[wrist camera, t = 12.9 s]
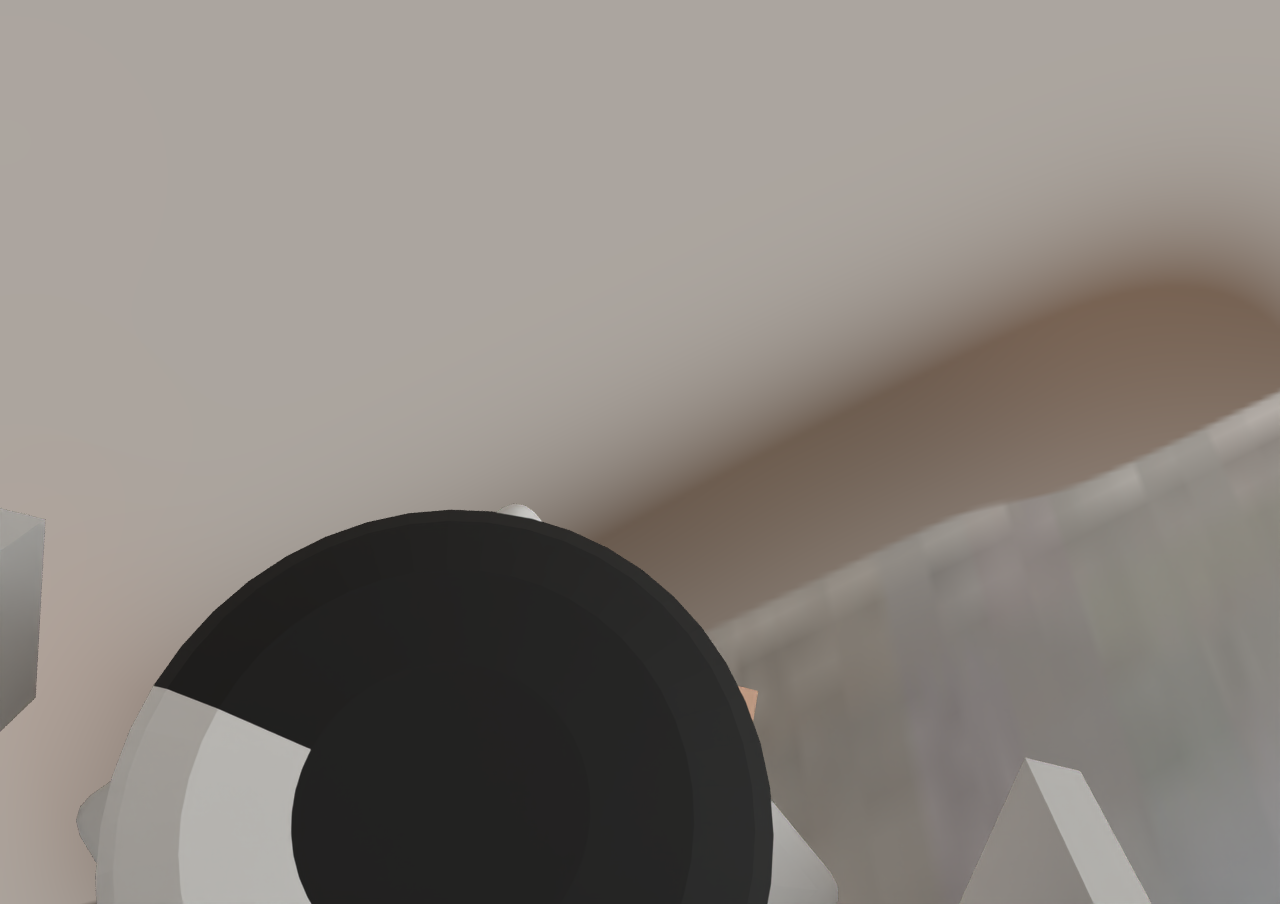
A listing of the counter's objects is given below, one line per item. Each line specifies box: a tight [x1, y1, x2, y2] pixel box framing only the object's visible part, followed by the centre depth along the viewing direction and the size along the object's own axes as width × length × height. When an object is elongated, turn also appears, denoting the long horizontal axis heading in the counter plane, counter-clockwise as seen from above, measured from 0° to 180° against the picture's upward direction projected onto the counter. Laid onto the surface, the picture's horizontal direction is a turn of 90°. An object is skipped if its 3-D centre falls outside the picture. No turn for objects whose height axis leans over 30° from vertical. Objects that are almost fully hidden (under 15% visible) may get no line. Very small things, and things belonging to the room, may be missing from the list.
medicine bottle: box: [76, 504, 838, 904], centre depth 14 cm, size 7×7×12 cm
